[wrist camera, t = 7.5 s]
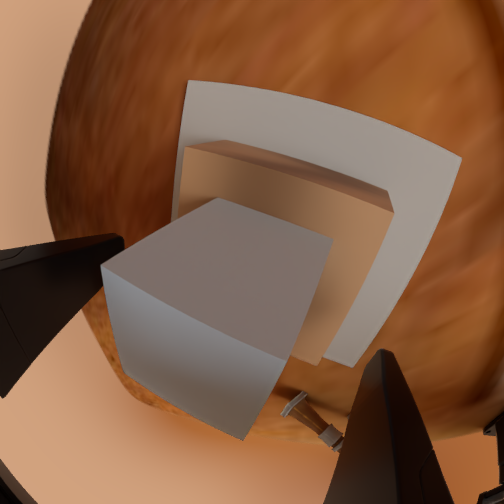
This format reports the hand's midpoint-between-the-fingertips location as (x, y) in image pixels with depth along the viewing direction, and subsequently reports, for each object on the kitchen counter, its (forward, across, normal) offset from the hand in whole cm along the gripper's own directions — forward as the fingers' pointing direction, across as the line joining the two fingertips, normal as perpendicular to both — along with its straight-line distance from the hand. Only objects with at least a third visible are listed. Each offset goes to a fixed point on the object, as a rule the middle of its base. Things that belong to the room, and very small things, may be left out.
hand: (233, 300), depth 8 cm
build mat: (+5, 0, 0) cm, 5 cm away
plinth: (+5, 0, 0) cm, 5 cm away
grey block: (+2, 0, 0) cm, 2 cm away
